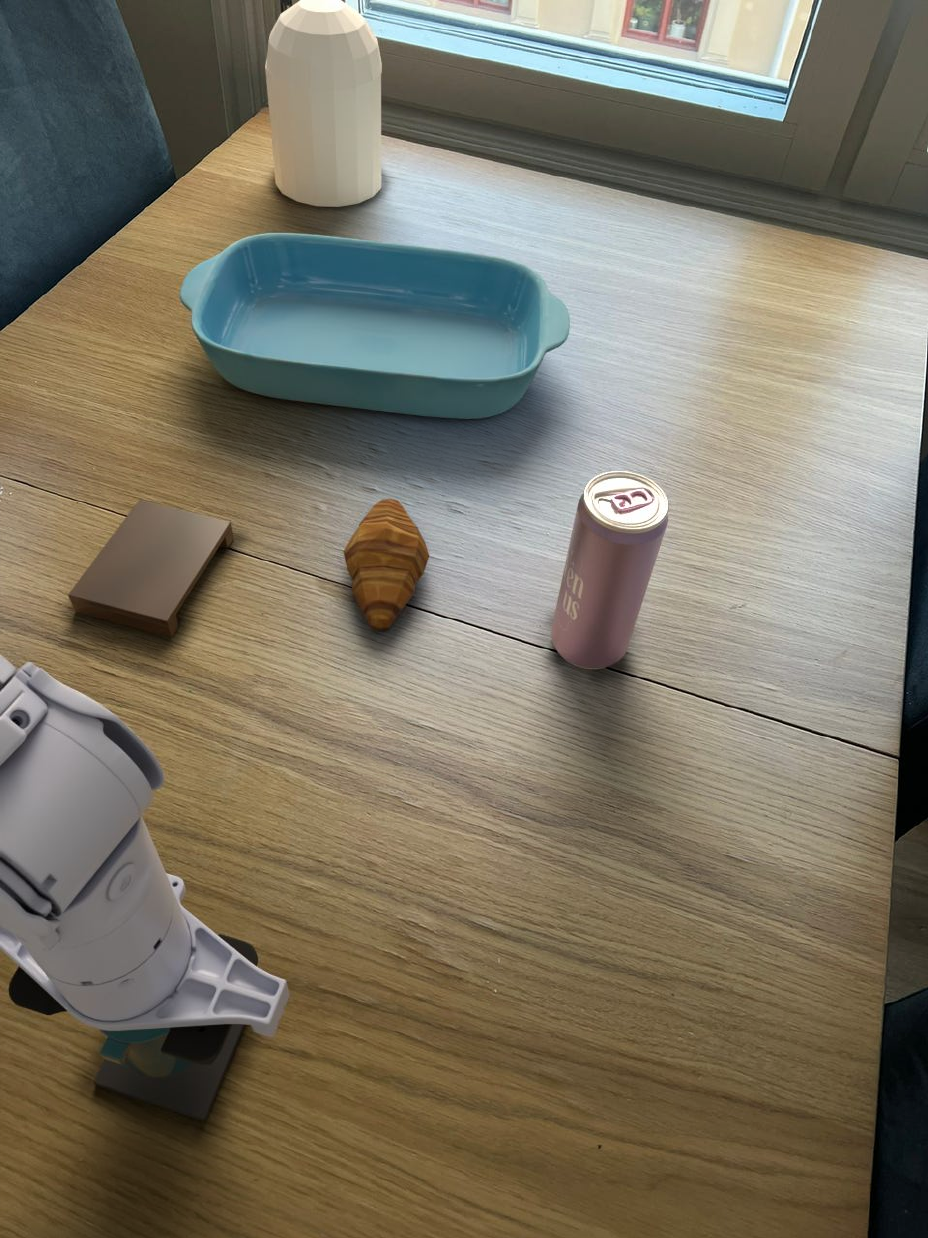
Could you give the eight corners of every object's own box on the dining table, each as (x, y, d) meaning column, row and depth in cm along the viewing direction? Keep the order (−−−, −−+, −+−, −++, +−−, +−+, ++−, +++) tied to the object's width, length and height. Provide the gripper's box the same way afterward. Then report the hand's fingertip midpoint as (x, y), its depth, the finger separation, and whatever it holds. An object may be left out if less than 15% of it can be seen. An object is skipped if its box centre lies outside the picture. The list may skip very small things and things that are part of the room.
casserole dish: (561, 317, 101) (571, 255, 95) (559, 451, 86) (570, 387, 81) (222, 283, 101) (212, 219, 95) (163, 411, 86) (148, 345, 81)
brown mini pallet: (74, 612, 71) (67, 594, 69) (144, 516, 78) (139, 498, 76) (172, 638, 70) (167, 621, 68) (234, 538, 77) (230, 521, 75)
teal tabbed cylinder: (89, 1075, 48) (57, 1040, 43) (161, 931, 52) (139, 886, 48) (183, 1106, 47) (161, 1074, 42) (247, 958, 52) (233, 915, 47)
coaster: (94, 1085, 50) (92, 1083, 50) (151, 970, 54) (150, 967, 54) (205, 1122, 49) (203, 1120, 49) (254, 1002, 53) (253, 999, 53)
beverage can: (640, 661, 71) (689, 519, 59) (570, 682, 69) (606, 540, 58) (604, 605, 74) (644, 460, 63) (537, 623, 73) (565, 478, 61)
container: (391, 164, 121) (392, -15, 106) (371, 213, 113) (369, 26, 97) (290, 151, 122) (276, -28, 106) (262, 199, 113) (243, 11, 98)
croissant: (425, 639, 71) (427, 596, 67) (336, 635, 71) (333, 591, 67) (431, 516, 80) (433, 471, 76) (351, 512, 79) (349, 467, 76)
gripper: (305, 875, 40) (322, 984, 50) (-1, 785, 41) (77, 908, 52) (235, 1044, 35) (270, 1125, 46) (-105, 934, 37) (3, 1036, 47)
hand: (163, 1019), depth 48 cm, fingers closed on teal tabbed cylinder, 5 cm apart
